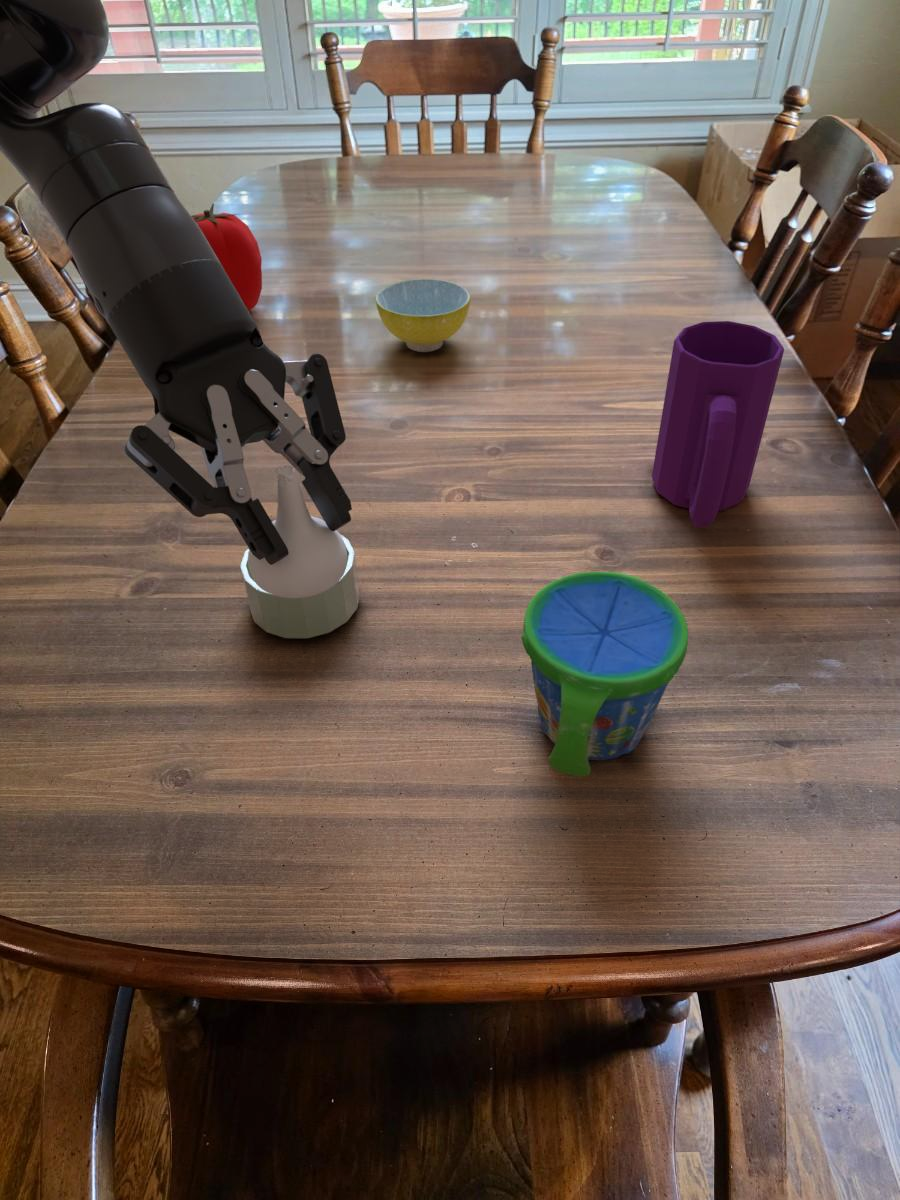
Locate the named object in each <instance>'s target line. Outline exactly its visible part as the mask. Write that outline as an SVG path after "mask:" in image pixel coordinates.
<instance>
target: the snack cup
mask: <svg viewBox="0 0 900 1200" xmlns="http://www.w3.org/2000/svg"><path fill="white" fill-rule="evenodd" d="M521 641H522V642H521V643H522V646H523V649H524V651H525V653H526V654H527V655H528V657H529V659H530V660H531V661H530V664H531V672H532V678H533V685H534V686H533V687H534V692H535V698H536V703H537V713H538V716H539V719H540V724H541V729H542V732H543V734H544V735H546V736H547V737H548V738H549V740H550V741H551V742H552V743H553V744H554V746H553V749H552V751H551V752H550V754H549V757H548V761H549V765H550V767H551V768H553V769H554V770H556V771H558V772H560V773H562V774H566V775H567V774H568V775H572V776H576V777H587V776H588V775H589V774H591V770H592V769H591V765H590V762H589V761H605V760H613V759H614V760H615V759H617V758H618V757H620V756H623V755H628V754H630V753H631V752H632V751H634V750H635V749H636V748H637V746H638V745H639V743H640V741H641V740H642V738H644V735H645V732H646V731H647V729H648V727H649V725H650V724H651V721H652V719H653V717H654V715H655V714H656V713H655V712H656V710H657V708H658V707H659V704H660V702H661V700H662V698H663V696H664V694H665V691H666V689H667V687H668V685H669V682H671V680H672V679H673V678H674V677H675V675H676V674H677V673H678V672H679V669H680V668H681V666H682V664H683V663H684V660H685V657H686V654H687V650H688V645H689V644H688V643H689V629H688V623H687V619H686V617H685V615H684V614H683V612H682V611H681V609H680V607H679V606H678V605H677V604H676V602H674V601H673V599H671V597H670V596H669V595H668V594H666V593H665V592H663V591H662V590H661V589H659V588H658V587H656V586H655V585H652V584H651V583H649V582H646V581H644V580H642V578H641V577H637V576H634V575H630V574H626V573H622V572H616V571H585V572H578V573H573V574H569V575H566V576H563V577H561V578H557V579H555V580H553V581H551V582H549V583H548V584H546V585H545V586H544V587H542V588H541V589H540V590H538V591H537V593H536V594H535V595H534V596H533V597H532V598H531V600H530V601H529V603H528V605H527V607H526V610H525V613H524V618H523V627H522V634H521Z"/></svg>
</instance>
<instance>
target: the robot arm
mask: <svg viewBox="0 0 900 1200" xmlns="http://www.w3.org/2000/svg"><path fill="white" fill-rule="evenodd" d="M109 39H110V29H109V23H108V17H107V13H106V9H105V8H104V5H103V2H102V0H0V152H1V154H2V155H3V156H4V157H5V158H6V159H7V160H8V161H9V162H10V164H11V165H12V166H13V167H14V169H16V171H17V172H18V173H19V175H21V176H22V178H23V179H24V180H25V181H26V183H27V184H28V185H29V187H30V188H31V189H32V191H33V192H34V193H35V195H36V197H37V198H38V200H39V202H40V203H41V205H42V207H43V208H44V210H45V211H46V213H47V215H48V217H49V218H50V220H51V222H52V223H53V225H54V227H55V228H56V230H57V232H58V233H59V235H60V237H61V238H62V240H63V241H64V244H65V245H66V246H67V248H68V250H69V252H70V254H71V256H72V257H73V260H74V262H75V264H76V267H77V269H78V272H79V274H80V276H81V278H82V281H83V283H84V284H85V286H86V288H87V291H88V292H89V294H90V296H91V297H92V299H93V303H94V305H95V307H96V310H97V311H98V312H99V314H100V315H101V316H102V317H103V319H105V320H106V322H107V324H108V326H109V327H110V329H111V330H112V332H113V334H114V335H115V338H116V339H117V340H118V343H119V344H120V346H121V348H122V349H123V351H124V352H125V354H126V356H127V357H128V359H129V360H130V362H131V364H132V366H133V367H134V369H135V371H136V372H137V375H138V376H139V377H140V379H141V380H142V383H143V384H144V385H145V388H147V389H148V391H149V392H150V394H151V396H152V399H153V405H154V406H153V407H154V416H153V417H152V418H151V419H150V420H148V421H147V422H146V423H145V424H143V425H142V424H141V425H137V426H135V427H133V429H132V430H131V433H130V435H129V436H128V439H127V441H126V442H125V445H124V453H125V454H126V456H127V457H128V458H129V459H130V460H131V461H133V463H135V464H136V465H137V466H138V467H139V468H140V469H141V470H143V471H144V472H145V474H147V475H148V476H149V477H150V478H151V479H152V480H153V481H155V482H156V483H157V484H158V486H160V487H161V488H162V489H164V491H165V492H167V494H169V495H170V496H171V497H172V498H173V499H174V500H175V501H177V502H178V503H179V504H180V505H181V506H182V507H184V508H185V510H187V511H188V513H190V514H191V515H192V516H194V517H196V518H203V517H205V516H206V515H215V514H221V515H222V514H223V515H226V516H227V517H228V518H230V520H231V521H232V523H233V525H234V526H235V527H236V530H237V531H238V533H239V534H240V536H241V538H242V540H244V541H243V542H245V544H246V546H247V549H248V548H249V549H250V551H251V553H252V554H253V555H254V556H255V557H256V558H258V559H259V560H261V559H263V558H265V559H266V561H267V562H268V563H269V564H270V565H273V564H274V563H276V562H278V561H280V560H282V559H283V558H285V557H286V556H287V555H288V554H289V553H288V549H287V547H286V545H285V543H284V542H283V540H282V538H281V536H280V535H279V533H278V531H277V530H276V528H275V526H274V525H273V523H272V520H271V518H270V516H269V515H268V513H267V511H266V509H265V508H264V506H263V504H262V503H261V500H260V499H259V498H255V499H254V500H253V498H252V491H251V487H250V483H249V479H248V477H247V474H246V469H245V466H244V460H245V455H244V451H243V447H244V446H245V445H247V444H253V443H259V442H261V441H263V442H264V443H265V444H266V445H267V447H268V448H270V449H271V451H273V452H274V453H276V454H279V455H281V456H282V457H283V458H284V459H286V461H287V462H288V463H289V464H290V466H292V467H294V468H295V471H297V472H298V473H299V475H301V476H303V477H304V479H303V480H302V481H301V484H302V485H303V487H304V489H305V490H306V492H307V494H308V496H309V497H310V499H311V501H312V503H313V504H314V506H315V508H316V510H317V512H318V513H319V515H320V516H321V517H322V518H321V519H322V520H324V521H325V523H326V525H327V526H328V528H329V529H330V530H331V531H335V530H337V531H338V530H340V529H341V528H343V527H344V526H346V525H347V524H348V523H350V522H351V521H352V516H351V514H350V511H351V510H353V507H352V502H351V500H350V498H349V496H348V494H347V493H346V490H345V489H344V487H342V484H341V482H340V481H339V479H338V478H337V477H338V476H337V475H336V474H335V472H334V470H333V468H332V467H331V463H330V459H331V456H332V455H333V454H334V453H335V452H336V450H338V448H339V447H340V446H341V445H343V443H344V442H345V441H346V438H347V436H346V431H345V427H344V423H343V420H342V415H341V411H340V407H339V404H338V399H337V395H336V392H335V387H334V384H333V378H332V376H331V372H330V368H329V363H328V360H327V358H326V357H325V356H324V355H323V354H321V353H313V354H311V355H310V356H309V358H308V359H306V360H290V361H284V360H283V359H282V358H281V357H280V356H279V355H278V354H277V353H275V352H274V351H273V350H271V349H270V348H269V347H268V346H267V345H266V344H265V342H264V341H263V339H262V336H261V333H260V331H259V327H258V326H257V324H256V322H255V320H254V318H253V316H252V315H251V313H250V311H248V309H247V308H246V306H245V304H244V303H243V301H242V299H241V297H240V296H239V294H238V292H237V291H236V289H235V287H234V285H233V284H232V282H231V280H230V279H229V277H228V275H227V273H226V272H225V270H224V268H223V266H222V265H221V263H220V261H219V260H218V258H217V256H216V254H215V253H214V251H213V249H212V248H211V246H210V244H209V242H208V241H207V239H206V237H205V236H204V234H203V232H202V231H201V229H200V228H199V226H198V225H197V223H196V222H195V220H194V219H193V218H192V214H191V213H190V212H189V211H188V209H186V207H185V206H184V204H183V203H182V202H181V201H180V199H179V197H178V196H177V194H176V193H175V191H174V188H173V187H172V186H171V184H170V182H169V180H168V179H167V177H166V176H165V173H164V172H163V170H162V168H161V167H160V165H159V163H158V161H157V160H156V158H155V157H154V154H153V153H152V151H151V150H150V148H149V146H148V144H147V143H146V141H145V139H144V137H143V136H142V134H141V133H140V131H139V129H138V128H137V126H136V125H135V124H134V123H133V121H132V119H130V118H129V116H128V115H127V114H125V112H123V111H122V110H121V109H119V108H117V107H115V106H113V105H111V104H108V103H105V102H104V103H103V102H84V103H83V102H82V103H79V104H75V105H71V106H68V107H65V108H61V109H59V110H56V111H54V112H51V113H49V114H46V115H42V116H39V117H38V113H39V112H40V111H41V110H42V109H44V107H46V106H48V105H49V104H51V102H52V101H54V100H55V99H57V98H59V96H60V95H62V94H63V93H64V92H66V91H67V90H68V89H70V88H71V87H72V86H73V85H75V84H76V82H78V81H81V80H82V79H83V78H84V77H85V76H86V75H88V74H89V73H90V72H91V71H93V70H94V69H95V68H96V67H97V66H98V65H99V64H100V62H101V61H102V60H103V59H104V58H105V56H106V53H107V51H108V46H109V42H110V41H109ZM286 384H288V385H289V386H290V387H291V388H292V392H293V394H294V395H295V396H296V397H300V398H301V401H302V405H303V408H304V413H305V416H306V420H307V425H308V427H309V428H308V429H309V431H308V429H307V427H306V422H305V421H304V420H303V418H302V417H301V416H300V415H299V414H298V413H297V412H296V411H295V410H294V409H293V408H292V407H291V406H290V405H289V404H288V403H287V402H286V401H285V392H286ZM169 431H170V432H172V433H174V434H176V435H178V436H179V437H181V438H183V439H185V440H187V441H189V442H191V443H193V444H195V445H197V446H199V447H200V448H201V452H202V455H203V459H204V462H205V466H206V469H207V472H208V476H209V478H210V479H211V480H212V481H213V484H214V486H213V485H212V484H211V483H209V481H207V480H206V478H204V477H203V476H202V475H201V474H200V473H199V472H198V471H196V470H195V469H194V468H193V466H191V464H189V463H188V462H187V461H186V460H185V459H184V458H183V457H182V456H181V455H179V454H178V453H177V451H175V447H176V443H175V440H174V439H173V437H172V436H171V435H170V432H169Z"/></svg>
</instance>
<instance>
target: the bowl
mask: <svg viewBox="0 0 900 1200" xmlns="http://www.w3.org/2000/svg"><path fill="white" fill-rule="evenodd" d="M375 303H376V304H375V305H376V309H377V312H378V315H379V317H380V319H381V322H382V324H383V325H384V327H385V328H386V329H387V330H388V331H389V332H390V333H391V334H392V335H393V336H394V337H396V338H397V339H399V340H401V341H402V342H405V344H406V347H407V348H408V350H409V349H410V350H411V351H414V352H417V353H430V352H435V351H437V350H439V349H441V348H442V346H443V343H444V341H446V340H448V339H450V338H451V337H452V336H455V334H456V333H457V332H458V331H459V330H460V329H461V327H462V326H463V324H464V323H465V321H466V319H467V317H468V314H469V313H468V312H469V309H470V305H471V295H470V292H469V291H468V290H467V289H466V288H465V287H463V286H462V285H460V284H457V283H455V282H453V281H449V280H443V279H438V278H437V279H435V278H415V279H407V280H402V281H399V282H394V283H392V284H389V285H387V286H385V287H383V288H382V289H381V290H379V291H378V292H377V294H376V295H375Z"/></svg>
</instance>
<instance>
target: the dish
mask: <svg viewBox="0 0 900 1200" xmlns="http://www.w3.org/2000/svg"><path fill="white" fill-rule="evenodd" d="M339 534H340V535H341V537H342V539H343V541H344V543H345V546H346V550H347V567H346V570H345V573H344V574H343V576H342V578H341V579H340V580H339V581H338V582H337V583H336V584H335V585H334V586H333V587H331V588H330V589H328V590H326V591H324V592H322V593H319V594H317V595H313V596H310V597H304V598H284V597H279V596H275V595H272V594H270V593H268V592H266V591H264V590H262V589H261V588H260V587H259V586H258V585H257V584H256V583H255V581H254V580H253V578H252V576H251V574H250V570H249V567H248V552H249V548H248V547H247V548H246V550H245V551H244V553H243V555H242V558H241V562H240V565H239V570H240V574H241V577H242V582H243V587H244V591H245V595H246V599H247V603H248V608H249V611H250V614H251V617H252V621H253V622H254V624H256V625H257V626H259V627H260V628H261V629H262V630H263V631H264V632H266V633H268V634H271V635H273V636H277V637H281V638H284V639H310V638H314V637H318V636H321V635H325V634H329V633H331V632H333V631H334V630H336V629H338V628H339V627H341V626H342V625H344V624H346V623H347V622H349V620H350V618H351V617H352V616H353V614H354V613H355V612H356V611H357V609H358V608H359V607H358V606H359V600H360V595H361V593H360V586H359V576H358V568H357V560H356V559H357V558H356V553H355V550H354V547H353V546H352V544H351V541H350V540H349V539H348V538H347V537H346V536H344V535H342V534H341V533H340V532H339Z"/></svg>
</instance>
